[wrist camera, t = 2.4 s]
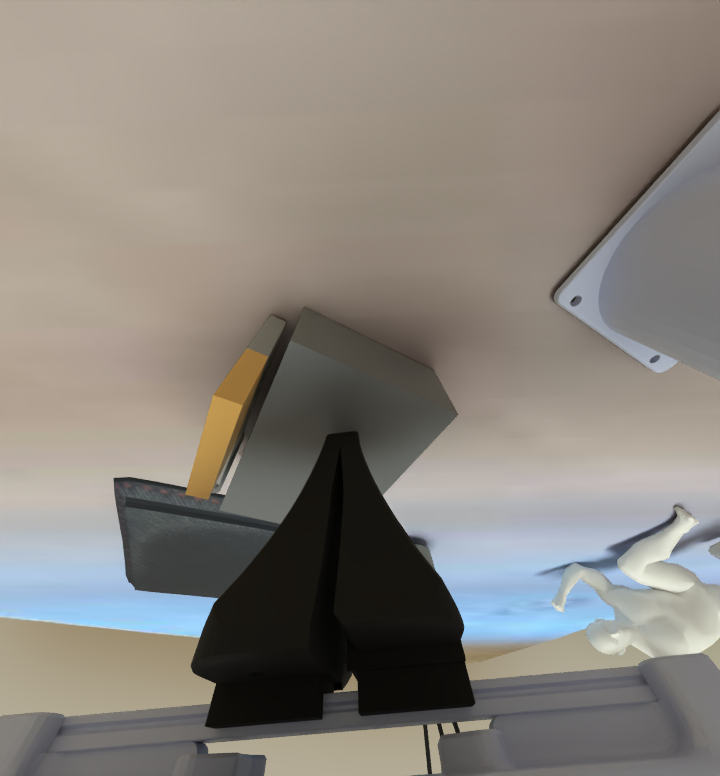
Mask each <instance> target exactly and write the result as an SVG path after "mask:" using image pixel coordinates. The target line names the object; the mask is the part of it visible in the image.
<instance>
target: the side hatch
mask: <svg viewBox="0 0 720 776" xmlns="http://www.w3.org/2000/svg"><path fill="white" fill-rule="evenodd" d="M286 323H287V322H285V321H283V320H281V319H279V318H277V317H275V316H272V315H270V317H269V318H268V319H267V321H266V322H265V324H264V325H263V326H262V328H261V329H260V331H259V332H258V333H257V335H256V336H255V338H254V339H253V340H252V342H251V343H250V345H249V346H248V347H247V349H246V350H245V352H244V353H243V354H242V356H241V357H240V359H239V360H238V361H237V363H236V364H235V366H234V367H233V368H232V370H231V371H230V373H229V374H228V375H227V377H226V378H225V380H224V381H223V382H222V384H221V385H220V387H219V388H218V389H217V391H216V392H215V394H214V395H213V398H212V402H211V405H210V409H209V412H208V416H207V419H206V423H205V426H204V430H203V433H202V437H201V440H200V444H199V447H198V451H197V455H196V458H195V462H194V465H193V469H192V472H191V476H190V479H189V483H188V486H187V490H186V493H185V495H189V496H194V497H198V498H202V499H207V500H208V499H209V497H210V495H211V493H217V492H219V491H220V490H221V488H222V485H223V483H224V481H225V479H226V476H227V474H228V472H229V470H230V467H231V465H232V463H233V461H234V458H235V456H236V454H237V452H238V450H239V447H240V445H241V443H242V441H243V437H242V434H243V432H244V429H245V427H246V424H247V421H248V419H249V416H250V414H251V411H252V409H253V406H254V404H255V401H256V399H257V396H258V394H259V391H260V388H261V386H262V383H263V381H264V378H265V376H266V373H267V371H268V368H269V366H270V363H271V361H272V358H273V356H274V353H275V350H276V348H277V345H278V343H279V340H280V338H281V335H282V333H283V330H284V328H285V325H286Z"/></svg>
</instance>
